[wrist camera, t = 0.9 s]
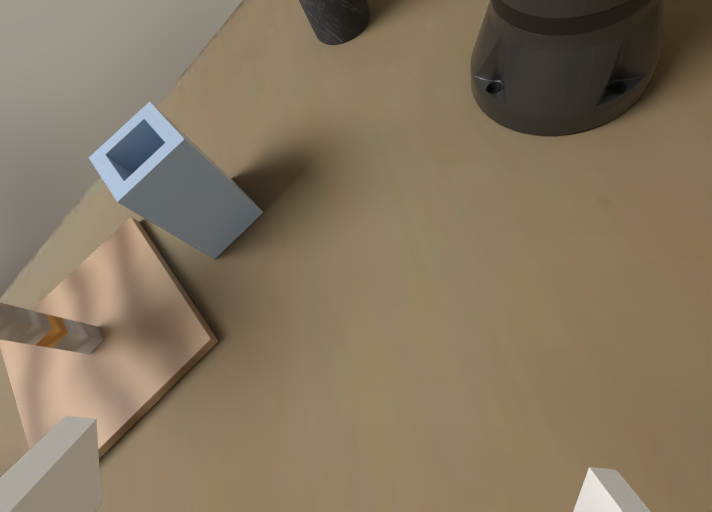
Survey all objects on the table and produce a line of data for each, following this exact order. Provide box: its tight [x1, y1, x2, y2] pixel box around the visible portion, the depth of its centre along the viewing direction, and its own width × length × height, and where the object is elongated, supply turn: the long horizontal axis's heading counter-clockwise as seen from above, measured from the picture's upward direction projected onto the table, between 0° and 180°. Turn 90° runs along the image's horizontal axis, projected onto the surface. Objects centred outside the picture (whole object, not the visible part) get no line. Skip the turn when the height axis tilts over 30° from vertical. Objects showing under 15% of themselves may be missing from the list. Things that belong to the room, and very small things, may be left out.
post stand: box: [0, 217, 218, 459], centre depth 32 cm, size 20×20×18 cm
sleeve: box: [89, 102, 263, 259], centre depth 37 cm, size 7×7×12 cm
